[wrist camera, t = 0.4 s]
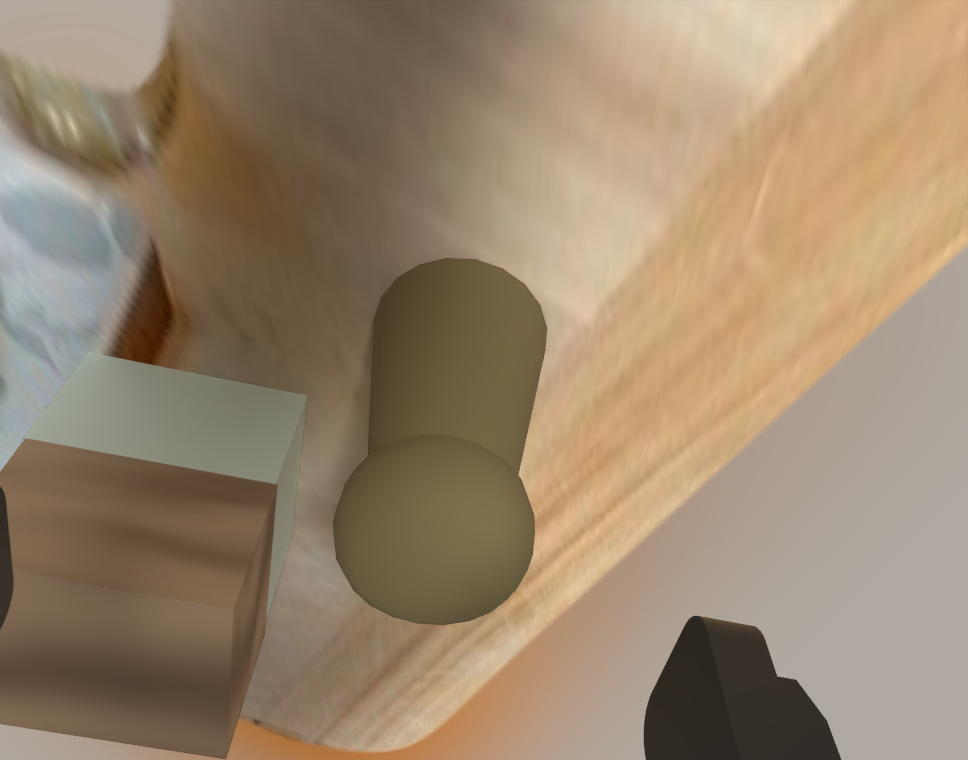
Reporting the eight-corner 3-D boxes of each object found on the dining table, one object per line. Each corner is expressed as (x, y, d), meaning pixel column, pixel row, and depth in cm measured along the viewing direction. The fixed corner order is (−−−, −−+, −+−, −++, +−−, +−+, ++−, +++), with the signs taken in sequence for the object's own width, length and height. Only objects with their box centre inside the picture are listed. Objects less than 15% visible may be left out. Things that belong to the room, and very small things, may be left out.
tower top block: (25, 438, 27) (-65, 558, 23) (277, 484, 27) (233, 609, 23) (50, 597, 31) (-22, 720, 27) (264, 633, 32) (225, 759, 28)
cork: (459, 430, 32) (430, 687, 23) (338, 329, 29) (253, 573, 21) (583, 341, 29) (604, 593, 20) (461, 223, 27) (425, 450, 18)
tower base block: (90, 349, 31) (23, 438, 27) (308, 392, 31) (275, 485, 27) (102, 502, 35) (47, 597, 31) (292, 536, 36) (261, 634, 32)
